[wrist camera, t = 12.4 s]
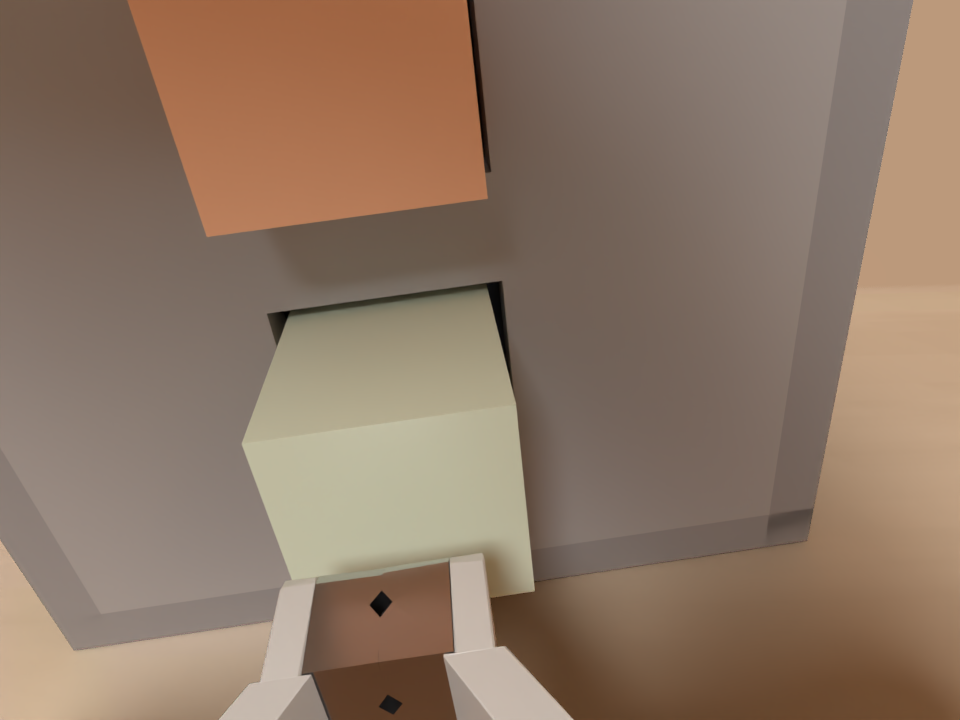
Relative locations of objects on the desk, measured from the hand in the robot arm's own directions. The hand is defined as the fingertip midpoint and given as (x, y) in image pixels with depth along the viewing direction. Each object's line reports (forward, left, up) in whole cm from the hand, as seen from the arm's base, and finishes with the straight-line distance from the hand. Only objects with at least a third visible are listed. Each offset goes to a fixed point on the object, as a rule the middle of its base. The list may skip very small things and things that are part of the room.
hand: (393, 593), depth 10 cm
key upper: (+1, +5, +5) cm, 7 cm away
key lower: (+1, +4, -2) cm, 4 cm away
